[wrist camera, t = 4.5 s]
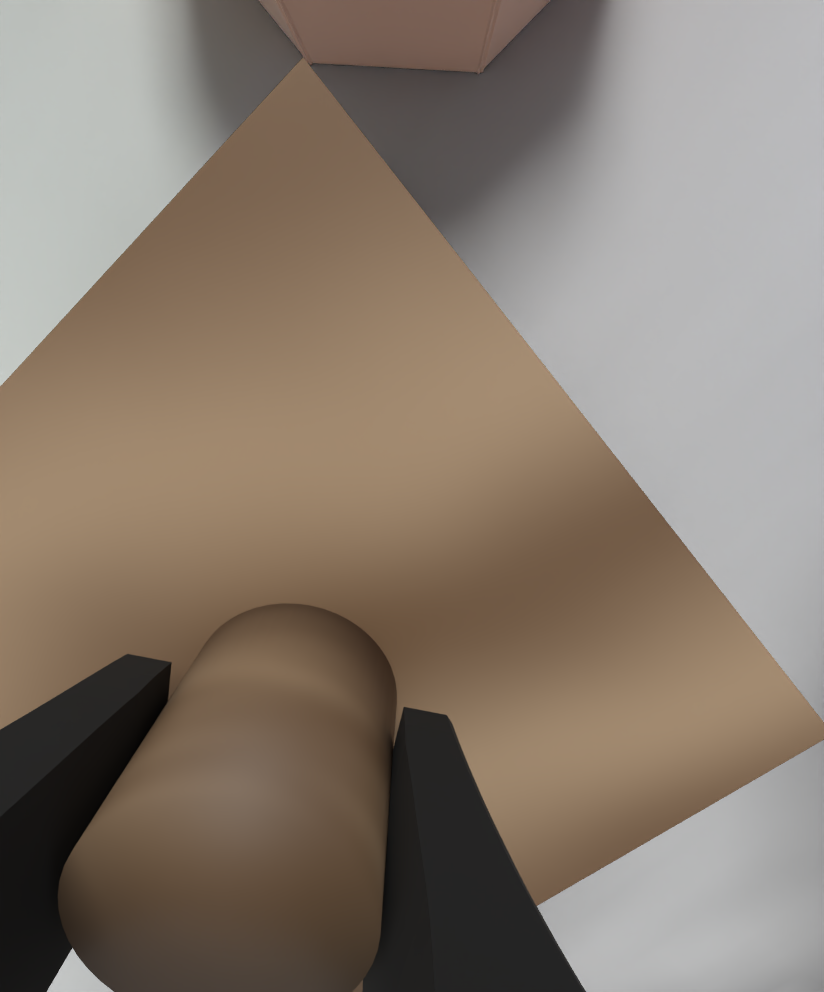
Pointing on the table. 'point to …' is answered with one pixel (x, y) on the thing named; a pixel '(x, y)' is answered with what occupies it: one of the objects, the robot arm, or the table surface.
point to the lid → (342, 574)
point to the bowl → (403, 31)
